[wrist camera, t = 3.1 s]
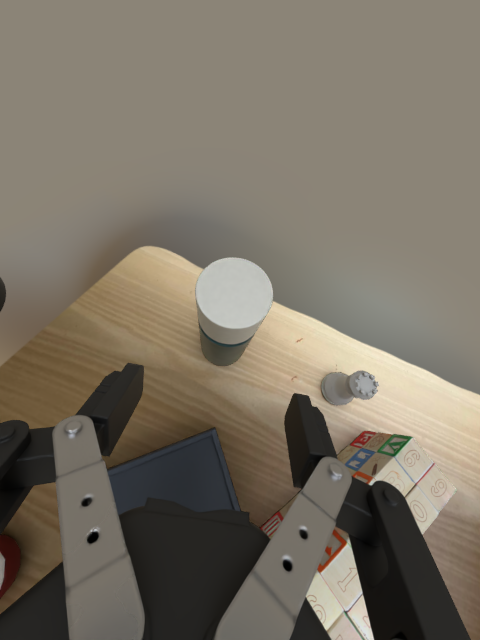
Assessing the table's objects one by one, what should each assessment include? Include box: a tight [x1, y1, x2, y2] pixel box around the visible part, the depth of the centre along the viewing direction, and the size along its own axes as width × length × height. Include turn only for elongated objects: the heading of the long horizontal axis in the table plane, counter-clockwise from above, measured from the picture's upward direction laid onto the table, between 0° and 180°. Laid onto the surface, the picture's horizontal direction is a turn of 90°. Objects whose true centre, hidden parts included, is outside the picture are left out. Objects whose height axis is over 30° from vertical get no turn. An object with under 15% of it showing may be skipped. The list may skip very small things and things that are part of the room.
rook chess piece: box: [321, 371, 379, 405], centre depth 33 cm, size 4×4×8 cm
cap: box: [195, 258, 273, 344], centre depth 22 cm, size 6×6×5 cm
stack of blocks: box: [260, 431, 456, 640], centre depth 26 cm, size 21×6×12 cm, turn 126°
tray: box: [107, 427, 241, 515], centre depth 29 cm, size 15×12×2 cm
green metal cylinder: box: [198, 320, 256, 366], centre depth 31 cm, size 6×6×13 cm
